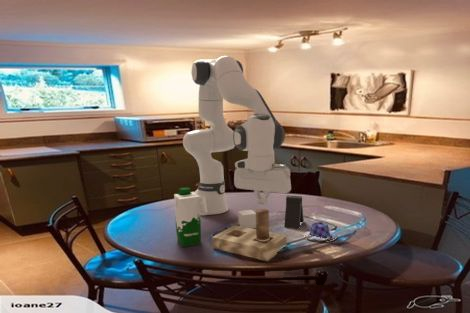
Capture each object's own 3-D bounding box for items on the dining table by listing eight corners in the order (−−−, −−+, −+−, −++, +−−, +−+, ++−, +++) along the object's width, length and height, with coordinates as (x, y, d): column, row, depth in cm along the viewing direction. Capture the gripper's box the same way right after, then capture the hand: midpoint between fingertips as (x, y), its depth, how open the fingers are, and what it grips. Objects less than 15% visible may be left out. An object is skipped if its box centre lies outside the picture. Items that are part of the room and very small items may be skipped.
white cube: (238, 224, 149) (238, 211, 148) (252, 223, 151) (251, 209, 150) (242, 229, 143) (242, 215, 143) (256, 227, 145) (256, 213, 144)
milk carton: (196, 236, 138) (194, 185, 135) (204, 244, 130) (201, 190, 127) (174, 240, 135) (171, 188, 132) (180, 248, 126) (177, 194, 123)
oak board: (212, 247, 126) (212, 237, 125) (234, 235, 138) (234, 225, 137) (267, 261, 114) (267, 249, 113) (286, 246, 125) (286, 235, 125)
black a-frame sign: (298, 228, 142) (298, 199, 140) (284, 227, 144) (283, 198, 143) (303, 221, 150) (303, 194, 148) (290, 220, 153) (289, 193, 151)
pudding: (342, 242, 128) (342, 228, 127) (310, 245, 126) (310, 231, 126) (328, 230, 140) (329, 217, 139) (299, 233, 138) (299, 220, 137)
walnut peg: (254, 251, 122) (252, 211, 120) (260, 246, 126) (259, 208, 124) (265, 254, 119) (264, 213, 117) (272, 249, 123) (271, 210, 121)
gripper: (294, 163, 115) (294, 204, 117) (240, 160, 126) (242, 197, 128) (285, 166, 110) (286, 210, 112) (230, 162, 121) (232, 202, 123)
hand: (262, 203), depth 120 cm, fingers closed
